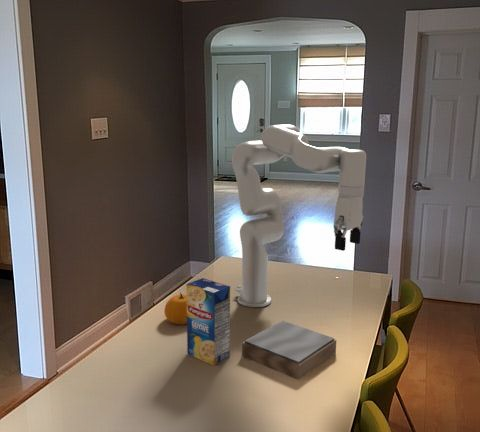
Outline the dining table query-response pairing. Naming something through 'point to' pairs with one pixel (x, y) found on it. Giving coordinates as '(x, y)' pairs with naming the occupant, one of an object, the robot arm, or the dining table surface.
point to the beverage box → (208, 320)
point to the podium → (289, 349)
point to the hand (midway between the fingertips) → (347, 246)
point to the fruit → (177, 309)
